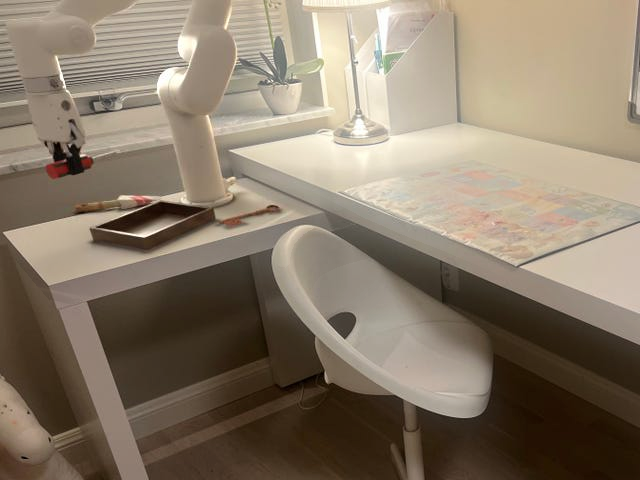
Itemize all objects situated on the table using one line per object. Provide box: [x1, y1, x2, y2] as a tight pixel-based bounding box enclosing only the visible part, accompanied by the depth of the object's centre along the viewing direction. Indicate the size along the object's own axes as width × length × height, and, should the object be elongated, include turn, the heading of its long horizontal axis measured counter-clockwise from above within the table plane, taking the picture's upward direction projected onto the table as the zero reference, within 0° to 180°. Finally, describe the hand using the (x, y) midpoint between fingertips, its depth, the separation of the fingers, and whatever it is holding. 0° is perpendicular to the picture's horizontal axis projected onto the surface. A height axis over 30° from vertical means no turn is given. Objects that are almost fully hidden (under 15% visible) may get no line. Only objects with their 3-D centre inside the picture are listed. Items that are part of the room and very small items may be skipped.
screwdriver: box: [45, 150, 118, 180], centre depth 162 cm, size 17×3×3 cm, turn 155°
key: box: [218, 204, 281, 227], centre depth 172 cm, size 6×1×15 cm
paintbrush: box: [74, 194, 163, 213], centre depth 180 cm, size 4×3×20 cm
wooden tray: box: [89, 199, 217, 251], centre depth 165 cm, size 21×17×3 cm
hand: (71, 172), depth 160 cm, fingers closed on screwdriver, 3 cm apart
